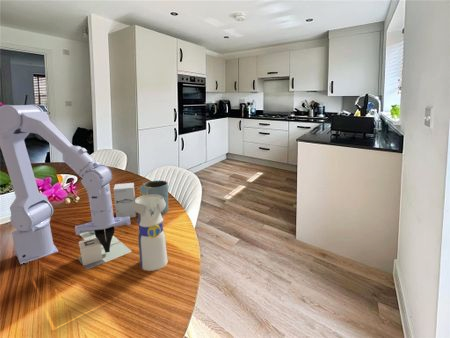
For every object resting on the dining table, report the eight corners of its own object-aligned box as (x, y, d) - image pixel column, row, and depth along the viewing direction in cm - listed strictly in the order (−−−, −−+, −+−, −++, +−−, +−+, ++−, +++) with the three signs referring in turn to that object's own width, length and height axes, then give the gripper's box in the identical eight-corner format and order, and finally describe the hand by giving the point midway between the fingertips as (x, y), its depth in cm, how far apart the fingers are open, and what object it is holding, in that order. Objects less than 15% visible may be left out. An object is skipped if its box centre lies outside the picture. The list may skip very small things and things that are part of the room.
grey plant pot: (157, 218, 106) (155, 189, 103) (139, 212, 111) (136, 185, 108) (174, 209, 115) (173, 182, 112) (157, 204, 120) (155, 178, 117)
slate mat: (86, 271, 73) (86, 269, 73) (77, 259, 79) (77, 258, 79) (105, 263, 77) (105, 262, 77) (95, 252, 82) (95, 251, 82)
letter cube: (83, 265, 75) (80, 249, 74) (81, 257, 79) (78, 241, 78) (102, 259, 78) (100, 243, 77) (99, 251, 82) (97, 236, 81)
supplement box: (116, 220, 105) (112, 189, 102) (118, 213, 112) (114, 183, 108) (136, 218, 107) (133, 187, 103) (136, 210, 114) (133, 182, 110)
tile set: (105, 263, 77) (105, 262, 77) (78, 233, 94) (77, 232, 94) (132, 252, 82) (132, 251, 82) (101, 226, 100) (101, 225, 100)
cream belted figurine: (174, 266, 75) (168, 179, 69) (143, 276, 71) (134, 185, 65) (165, 252, 82) (159, 172, 76) (136, 260, 78) (127, 177, 72)
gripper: (126, 199, 84) (131, 239, 87) (73, 207, 78) (80, 250, 81) (129, 207, 78) (134, 249, 81) (71, 216, 72) (79, 262, 75)
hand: (107, 250), depth 81 cm, fingers closed
